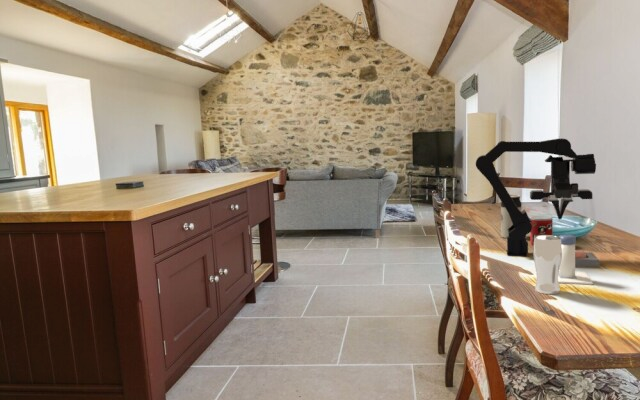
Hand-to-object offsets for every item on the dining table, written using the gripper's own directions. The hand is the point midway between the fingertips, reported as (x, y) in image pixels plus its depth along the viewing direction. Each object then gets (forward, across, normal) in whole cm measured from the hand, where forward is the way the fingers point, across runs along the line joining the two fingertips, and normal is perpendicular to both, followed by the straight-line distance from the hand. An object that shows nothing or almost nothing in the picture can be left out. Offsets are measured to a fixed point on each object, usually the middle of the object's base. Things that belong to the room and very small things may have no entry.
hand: (559, 219), depth 156 cm
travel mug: (+13, -14, +30) cm, 36 cm away
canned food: (+13, -4, +16) cm, 21 cm away
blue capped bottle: (+12, -2, -28) cm, 31 cm away
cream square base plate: (+13, -2, -28) cm, 31 cm away
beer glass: (+13, -9, -41) cm, 44 cm away
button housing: (+13, +4, -10) cm, 17 cm away
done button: (+12, +4, -10) cm, 16 cm away
